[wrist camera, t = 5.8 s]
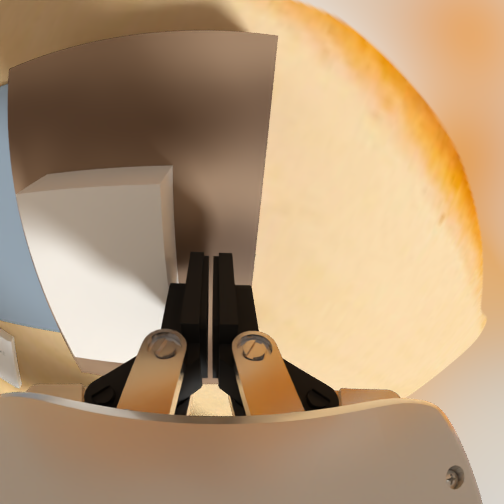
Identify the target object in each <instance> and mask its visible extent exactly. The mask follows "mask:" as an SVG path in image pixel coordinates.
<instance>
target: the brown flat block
mask: <svg viewBox="0 0 504 504" xmlns="http://www.w3.org/2000/svg"><path fill="white" fill-rule="evenodd" d="M277 41H278V36H276V35H268V34H259V33H249V32H236V31H214V30H190V31H167V32H154V33H144V34H136V35H129V36H122V37H116V38H110V39H105V40H100V41H95V42H91V43H86V44H82V45H78V46H74V47H70V48H67V49H63V50H60V51H57V52H53V53H50V54H47V55H44V56H41V57H38V58H36V59H33V60H30V61H27V62H25V63H22V64H20V65H17V66H15V67H13V68H10V69H9V78H8V138H9V151H10V161H11V169H12V176H13V183H14V189H15V194H17V193H19V192H20V191H22V190H23V189H25V188H26V187H28V186H29V185H31V184H32V183H34V182H35V181H37V180H39V179H40V178H42V177H44V176H45V175H47V174H53V173H62V172H71V171H80V170H91V169H104V168H119V167H138V166H172V165H173V203H174V226H175V243H176V258H177V271H178V282H179V283H186V278H187V271H188V264H189V258H190V252H204V256H209V315H208V378H202V384H218V378H213V373H212V297H213V256H219V253H232V256H233V268H234V280H235V285H251V287H252V279H253V269H254V260H255V251H256V242H257V232H258V223H259V214H260V205H261V195H262V186H263V176H264V167H265V157H266V148H267V138H268V129H269V119H270V110H271V100H272V90H273V80H274V71H275V61H276V51H277ZM16 200H17V198H16ZM17 205H18V203H17ZM18 210H19V207H18ZM19 214H20V212H19ZM20 219H21V216H20ZM21 223H22V220H21ZM22 227H23V224H22ZM23 231H24V228H23ZM24 235H25V232H24ZM25 238H26V236H25ZM26 242H27V239H26ZM27 246H28V243H27ZM28 249H29V246H28ZM29 252H30V250H29ZM30 256H31V253H30ZM31 259H32V256H31ZM32 262H33V259H32ZM33 265H34V262H33ZM34 268H35V265H34ZM35 271H36V268H35ZM36 274H37V271H36ZM37 277H38V274H37ZM38 280H39V277H38ZM39 282H40V280H39ZM40 285H41V282H40ZM41 288H42V290H43V287H42V285H41ZM43 293H44V290H43ZM44 295H45V293H44ZM45 298H46V295H45ZM46 300H47V298H46ZM47 303H48V305H49V302H48V300H47ZM49 308H50V310H51V312H52V309H51V307H50V305H49ZM52 315H53V317H54V319H55V321H56V318H55V316H54V314H53V312H52ZM56 324H57V326H58V328H59V330H60V332H61V334H62V336H63V338H64V340H65V342H66V344H67V346H68V348H69V350H70V352H71V354H72V356H73V358H74V359H75V361H76V363H77V365H78V367H79V368H80V370H81V372H84V373H90V374H96V375H103V376H104V375H105V374H107V373H109V372H110V371H112V370H114V369H115V368H117V367H119V366H120V365H122V364H124V363H117V362H108V361H100V360H92V359H86V358H79V357H75V356H74V355H73V353H72V351H71V349H70V347H69V345H68V343H67V341H66V339H65V337H64V335H63V333H62V331H61V329H60V327H59V325H58V323H57V321H56Z"/></svg>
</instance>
